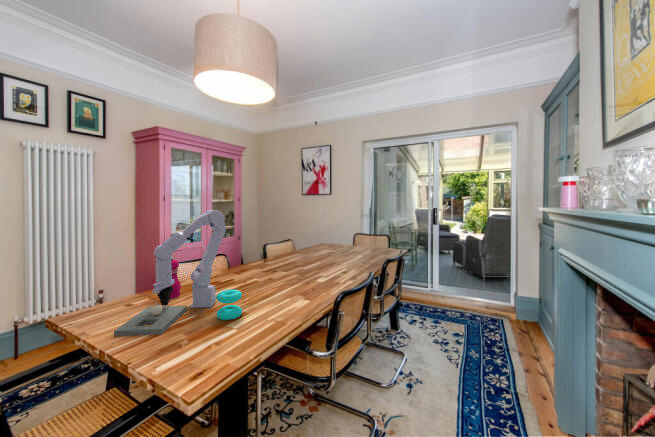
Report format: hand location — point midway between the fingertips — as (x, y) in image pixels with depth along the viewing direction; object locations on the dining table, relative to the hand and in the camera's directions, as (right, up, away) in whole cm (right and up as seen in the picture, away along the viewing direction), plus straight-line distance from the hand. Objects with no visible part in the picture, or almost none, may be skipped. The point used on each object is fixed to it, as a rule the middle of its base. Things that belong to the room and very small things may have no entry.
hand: (165, 305), depth 117 cm
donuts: (+28, -4, -3) cm, 29 cm away
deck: (+1, -4, -9) cm, 9 cm away
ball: (+1, 0, -7) cm, 7 cm away
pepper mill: (-8, -2, +21) cm, 22 cm away
